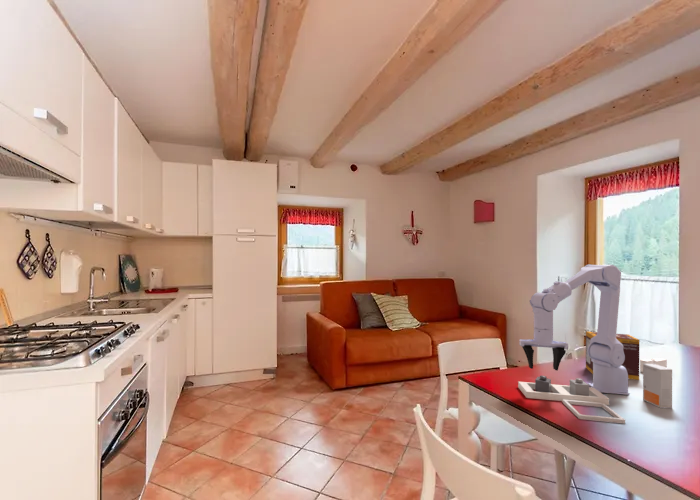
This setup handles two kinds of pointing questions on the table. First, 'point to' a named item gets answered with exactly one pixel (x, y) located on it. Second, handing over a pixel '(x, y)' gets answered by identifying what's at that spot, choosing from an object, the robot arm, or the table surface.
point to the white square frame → (597, 418)
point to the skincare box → (657, 385)
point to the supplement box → (629, 350)
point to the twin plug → (579, 387)
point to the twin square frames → (561, 393)
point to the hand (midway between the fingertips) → (543, 368)
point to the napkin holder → (653, 362)
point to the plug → (543, 384)
